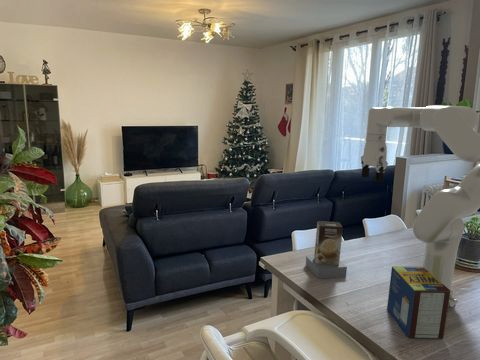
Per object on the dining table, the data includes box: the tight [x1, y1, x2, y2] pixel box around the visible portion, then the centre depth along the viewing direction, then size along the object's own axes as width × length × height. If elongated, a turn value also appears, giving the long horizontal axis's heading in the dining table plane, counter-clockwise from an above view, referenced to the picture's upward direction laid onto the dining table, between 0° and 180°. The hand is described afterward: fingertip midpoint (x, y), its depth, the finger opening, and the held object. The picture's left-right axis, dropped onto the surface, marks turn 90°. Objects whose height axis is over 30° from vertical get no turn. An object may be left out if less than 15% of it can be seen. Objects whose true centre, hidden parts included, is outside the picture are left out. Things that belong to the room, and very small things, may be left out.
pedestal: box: [305, 255, 348, 279], centre depth 142 cm, size 12×12×4 cm
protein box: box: [386, 265, 450, 340], centre depth 107 cm, size 10×15×16 cm
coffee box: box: [313, 220, 344, 265], centre depth 140 cm, size 9×6×16 cm
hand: (371, 179), depth 145 cm, fingers open, 9 cm apart
